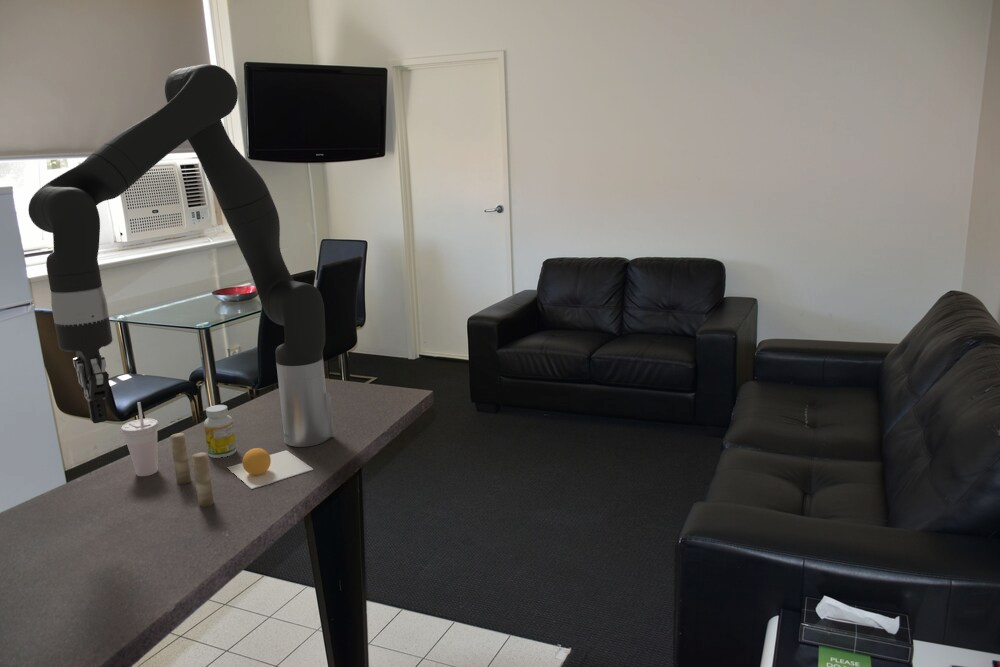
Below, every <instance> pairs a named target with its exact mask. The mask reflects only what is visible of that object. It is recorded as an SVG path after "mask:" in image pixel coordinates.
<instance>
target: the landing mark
mask: <svg viewBox="0 0 1000 667" xmlns="http://www.w3.org/2000/svg"><path fill="white" fill-rule="evenodd" d="M269 455H270V458H271V463H270V466H269V468H268V470H267V471H266V472H264V473H263V474H260V475H251V474H249V473H248V472H246V470H245V469H244V467H243V462H240V463H238V464H234V465H231V466H227V467H226V469H227V468H228V469H229V470H230V471H229V470H228V469H227V470H228V471H229V472H230V473H232V474H233V473H234V474H235V475H236V476H237V477H236V476H235V475H234V474H233V475H234V476H235V477H236V478H238V480H239V481H241V480H242V481H243V482H244V483H243V482H242V481H241V482H242V483H243V484H245V485H246V486H247V487H248V488H249V489H250V490H254V489H258V488H260V487H263V486H264V487H265V486H267V485H270V484H273V483H276V482H279V481H282V480H286V479H289V478H291V477H296V476H298V475H302V474H305V473H309V472H311V471H314V468H313V467H311V466H310V465H308V464H307V463H306V462H304V461H303V460H301V459H299V457H297V456H295V455H294V454H292V453H291V452H290V451H288V450H282V451H280V452H279V451H278V452H276V453H272V454H269Z"/></svg>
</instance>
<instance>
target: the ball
mask: <svg viewBox="0 0 1000 667" xmlns="http://www.w3.org/2000/svg"><path fill="white" fill-rule="evenodd" d="M270 455H271V454H269V452H268V451H267V450H265V449H263V448H261V447H256V448H255V447H254V448H251V449H249V450H248V451H246V453H245V454H244V456H243V458H242V463H243V467H244V469H245V470H246V472H248V473H249V474H251V475H260V474H263V473H264V472H266V471H267V470H268V468H269V466H270V463H271V458H270Z"/></svg>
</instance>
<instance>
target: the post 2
mask: <svg viewBox="0 0 1000 667" xmlns="http://www.w3.org/2000/svg"><path fill="white" fill-rule="evenodd" d="M191 460H192V467H193V473H194V479H195V481H194V482H195V488H196V494H197V501H198V506H199V507H201V508H208V507H209V506H212V505H214V503H215V502H214V496H213V494H214V493H213V489H212V488H213V487H212V481H211V472H210V466H209V458H208V452H205V451H204V452H203V451H202V452H201V451H200V452H196V453H194V454H192V455H191Z"/></svg>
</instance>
